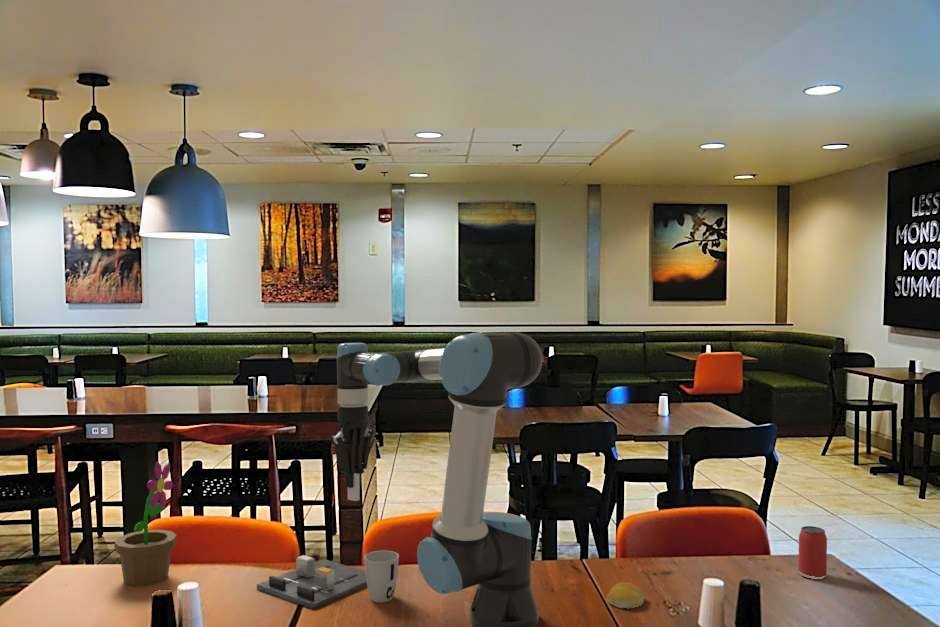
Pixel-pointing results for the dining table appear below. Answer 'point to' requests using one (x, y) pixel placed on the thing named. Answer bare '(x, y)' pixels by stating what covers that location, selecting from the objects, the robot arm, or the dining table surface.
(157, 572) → the flowerpot
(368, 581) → the cup
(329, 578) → the near fader
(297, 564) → the far fader
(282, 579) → the console
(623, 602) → the bread roll
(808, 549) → the beer can
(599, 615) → the dining table surface
